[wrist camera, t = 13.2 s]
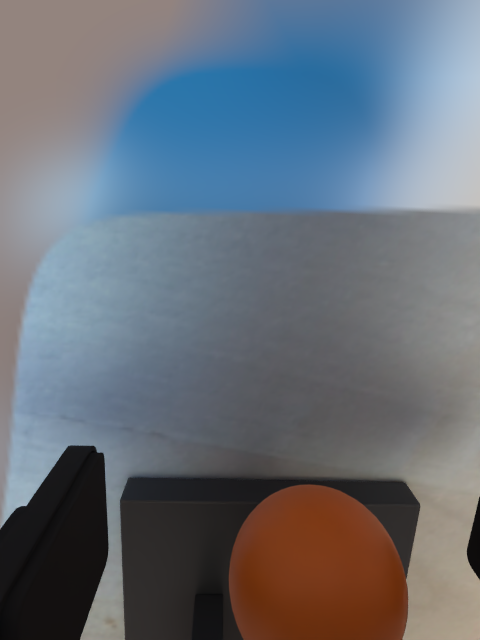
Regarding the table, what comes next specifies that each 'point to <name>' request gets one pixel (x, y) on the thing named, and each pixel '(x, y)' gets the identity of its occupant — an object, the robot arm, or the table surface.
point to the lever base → (214, 547)
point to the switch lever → (316, 570)
